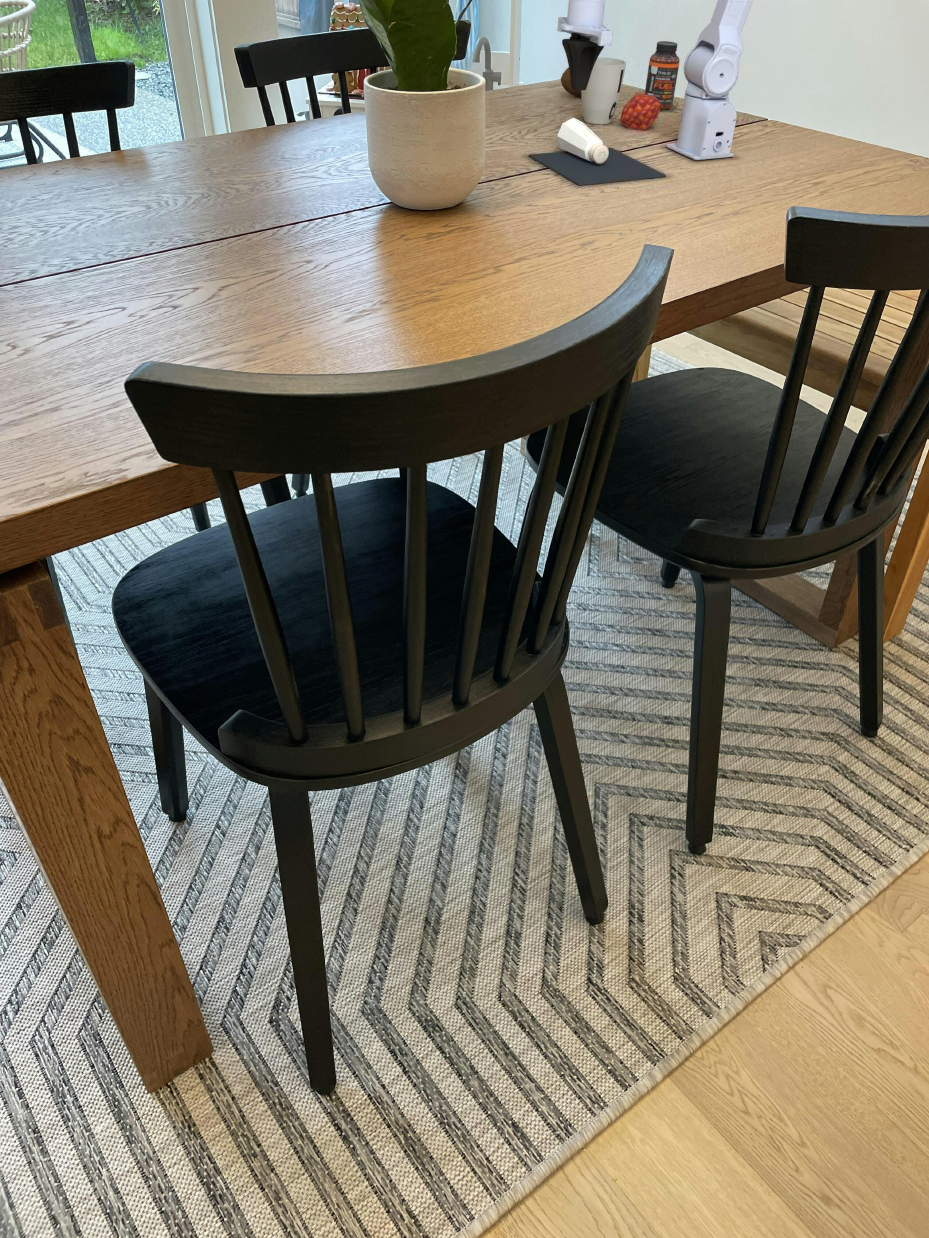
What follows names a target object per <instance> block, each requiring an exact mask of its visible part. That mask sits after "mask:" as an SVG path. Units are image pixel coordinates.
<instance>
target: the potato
mask: <svg viewBox="0 0 929 1238" xmlns="http://www.w3.org/2000/svg"><path fill="white" fill-rule="evenodd" d="M560 84H561V86H562V88H563V89H564V90H565V91H566V92H567V93H568V94H569V95H571V96H573V97H576V98H582V96H581V91H575V90H572V88H571V81H570V72H569V66H568V67H567V68H566V69H565V70H564V71H563V72H562V73H561V76H560Z"/></svg>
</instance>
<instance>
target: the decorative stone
mask: <svg viewBox="0 0 929 1238" xmlns="http://www.w3.org/2000/svg"><path fill="white" fill-rule="evenodd" d="M661 105H662V103H661V102H660V101H659V100H658V99H657V98H656V97H655V96H654V95H647V94H645V93H635V94H634V95H633V97H632V98H630V100H629V101H627V103H625V104H624V105H623V108H622V111H621V114H620V118H619V121H620V122H621V123H622V124H623V125H624V126H625V127H626V128H627V129H630V130H637V131H646V130H647V129H648V128H649V127H650V126H651V125H652V124H653V123H654V122H655V121H656V120H657V119H658V118H659V115H660V111H661V110H660V108H661Z"/></svg>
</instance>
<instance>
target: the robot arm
mask: <svg viewBox="0 0 929 1238" xmlns="http://www.w3.org/2000/svg"><path fill="white" fill-rule="evenodd" d="M753 2H754V0H717V2H716V4H715V7H714V10H713V12H712V16H711V18H710V22H709V23H708V24H707V25H706V26H705V27H704V28H703V29H702V31H701V32H700V33H699V35H698V38H697V40H696V43H695V45H694V46H693V47H692V49H690V51H689V52H688V54H687V55H686V56H685V59H684V61H683V75H684V78H685V80H686V81H687V85H686V88H685V93H684V97H683V102H682V103H683V104H682V110H681V115H680V116H681V117H680V124H679V129H678V135H677V142H674V143H666V148H668V149H670V150H672V151H675V152H677V153H679V154H681V155H683V156H685V157H687V158H690V159H692V160H694V161H703V160H712V159H724V158H732V157H734V156H735V155H734V154H735V153H733V152H731V149H732V145H733V139H734V134H735V129H736V123H737V118H738V117H737V109H736V107H735V105H733V104H732V103H731V102H730V100H729V96H730V95H729V94H730V92H731V91H732V90H733V89H734V88H735V86H736V84H737V82H738V79H739V76H740V61H741V57H742V54H743V52H744V46H743V45H744V44H743V36H742V32H743V29H744V26H745V24H746V22H747V18H748V15H749V12H750V10H751V7H752V4H753ZM567 6H568V7H567V16H559V17H558V18H557V32H559V33H566V34H570V36H569V38H562V39H561V45H562V48H563V49H564V52H565V55H566V60H567V65H568V67H569V72H570V81H571V88H572V90H575V91H581V90H586V88H587V85H588V82H589V79H590V76H591V73H592V70H593V67H594V64H595V62H596V60H597V58H598V57H600V54H601V52H602V51H603V50H604V48H605V47H606V46H612V45H613V35H614V31H613V30H611V29H609V28H608V27H607V26H606V25H605V24H604V19H605V18H604V17H605V6H606V0H568V4H567Z"/></svg>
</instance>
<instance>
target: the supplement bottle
mask: <svg viewBox="0 0 929 1238" xmlns="http://www.w3.org/2000/svg"><path fill="white" fill-rule="evenodd" d="M677 50H678V43H677V42H675V41H669V40H661V41H660V40H659V41H657V42H656V48H655V52H654V53H653V54H651V56H650V58H649V61H648V68H647V75H646V82H645V87H644V88H645V89H644V94H647V95H654V96H655V97H656V98H657V99H658V100H659V101H660V102H661V103H662V105H661V108H660V111H664V110H666V111H667V110H670V109H671V108H673V105H674V98H675V92H676V88H677V86H676V85H677V80H678V74H679V67H680V60H681V59H680V57H679V56H678V55H677Z"/></svg>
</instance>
